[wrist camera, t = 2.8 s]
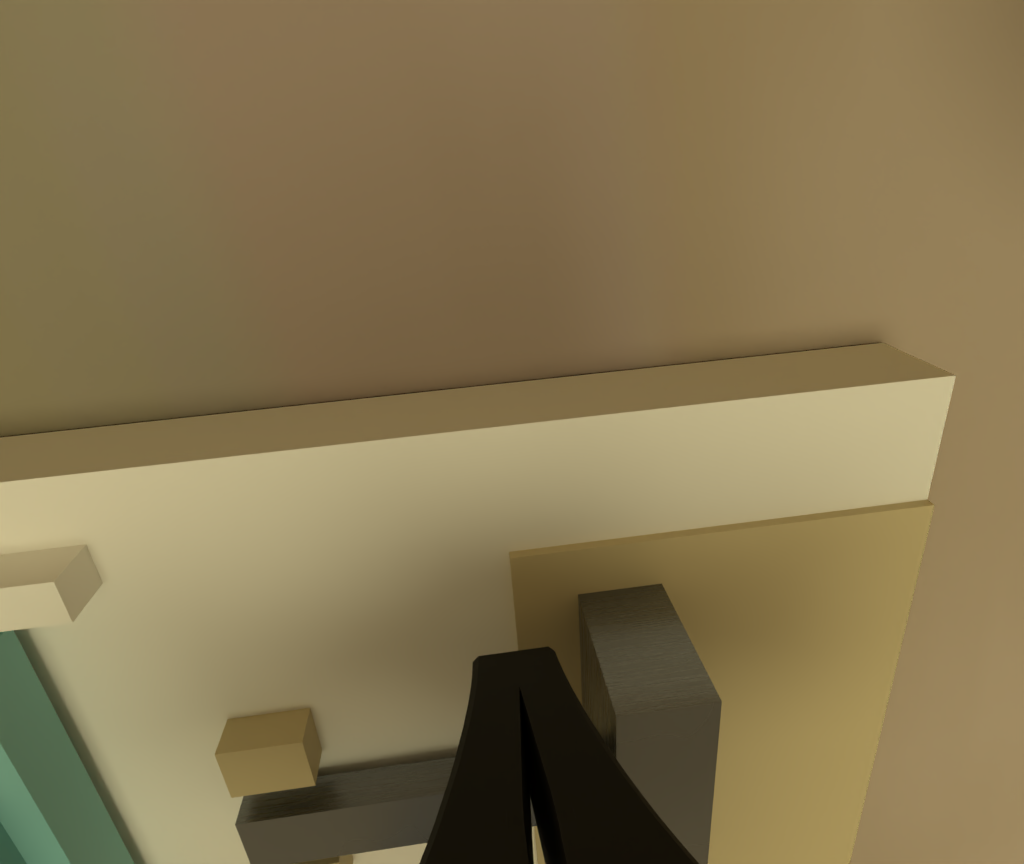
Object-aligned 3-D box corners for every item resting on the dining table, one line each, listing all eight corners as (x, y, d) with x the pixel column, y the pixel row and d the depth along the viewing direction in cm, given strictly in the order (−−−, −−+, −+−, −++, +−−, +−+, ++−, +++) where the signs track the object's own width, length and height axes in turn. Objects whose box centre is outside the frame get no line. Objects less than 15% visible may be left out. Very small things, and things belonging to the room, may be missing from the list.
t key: (653, 877, 16) (694, 1016, 13) (300, 933, 15) (273, 1091, 13) (661, 583, 12) (722, 701, 9) (193, 644, 11) (124, 787, 9)
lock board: (794, 845, 20) (851, 958, 17) (-99, 988, 18) (-196, 1139, 15) (882, 342, 13) (1002, 396, 10) (-533, 494, 11) (-847, 608, 8)
